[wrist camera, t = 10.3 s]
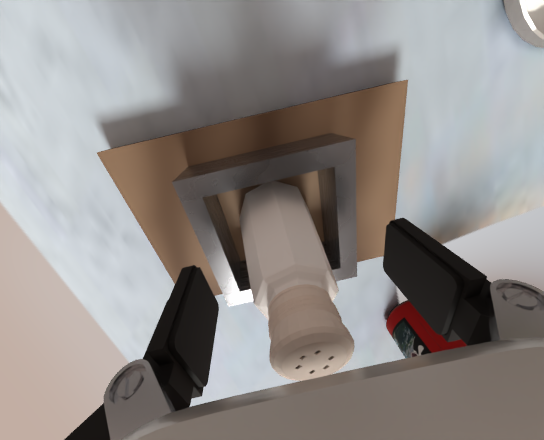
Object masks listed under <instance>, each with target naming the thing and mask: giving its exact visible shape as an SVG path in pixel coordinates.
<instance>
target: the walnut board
mask: <svg viewBox="0 0 544 440" xmlns="http://www.w3.org/2000/svg"><path fill="white" fill-rule="evenodd" d="M407 84H408V80H404V81H399V82H394V83H389V84H385V85H381V86H376V87H372V88H368V89H364V90H359V91H355V92H351V93H347V94H342V95H338V96H334V97H330V98H325V99H321V100H317V101H313V102H308V103H304V104H300V105H296V106H291V107H287V108H283V109H279V110H274V111H270V112H266V113H262V114H257V115H253V116H249V117H245V118H240V119H236V120H232V121H227V122H223V123H219V124H215V125H210V126H206V127H202V128H198V129H193V130H189V131H185V132H181V133H176V134H172V135H168V136H164V137H159V138H155V139H151V140H147V141H142V142H138V143H134V144H130V145H125V146H121V147H117V148H113V149H109V150H105V151H101V152H98V153H97V154H98V156H99V158H100V159H101V161H102V163H103V164H104V166H105V168H106V169H107V171H108V173H109V174H110V176H111V178H112V179H113V181H114V183H115V184H116V186H117V188H118V189H119V191H120V193H121V194H122V196H123V198H124V199H125V201H126V203H127V205H128V206H129V208H130V210H131V211H132V213H133V215H134V216H135V218H136V220H137V221H138V223H139V225H140V226H141V228H142V230H143V231H144V233H145V235H146V236H147V238H148V240H149V241H150V243H151V245H152V246H153V248H154V250H155V251H156V253H157V255H158V256H159V258H160V260H161V262H162V263H163V265H164V267H165V268H166V270H167V272H168V273H169V275H170V277H171V278H172V280H173V282H174V283H175V284H176V281H177V279H178V277H179V274H180V272H181V269H182V268H184V267H188V266H192V265H195V266H196V267H200V268H201V270H202V272H203V274H204V276H205V278H206V280H207V282H208V284H209V286H210V288H211V290H212V292H213V294H214V296H215V295H219V294H223V293H222V291H221V289H220V287H219V284H218V282H217V280H216V278H215V276H214V274H213V271H212V269H211V267H210V265H209V263H208V260H207V258H206V256H205V254H204V252H203V249H202V247H201V245H200V243H199V241H198V238H197V236H196V234H195V232H194V230H193V228H192V225H191V223H190V221H189V219H188V217H187V214H186V212H185V210H184V208H183V206H182V203H181V201H180V199H179V197H178V195H177V193H176V190H175V188H174V186H173V184H172V181H173V180H175V179H176V178H177V177H178V176H179V175H180V174H181V173H182V172H183V171H184V170H185V169H186V168H187V167H188V166H192V165H197V164H201V163H205V162H209V161H214V160H218V159H222V158H226V157H231V156H235V155H239V154H243V153H248V152H252V151H256V150H260V149H265V148H269V147H273V146H277V145H282V144H286V143H290V142H294V141H299V140H303V139H307V138H311V137H316V136H320V135H324V134H328V133H334V134H338V135H342V136H346V137H350V138H354V139H356V226H357V262H359V261H364V260H368V259H372V258H376V257H381V256H384V247H385V234H386V226H387V225H388V224H389V222H390V221H391V220H395V212H396V201H397V191H398V180H399V169H400V159H401V148H402V137H403V127H404V116H405V105H406V94H407ZM275 181H277V182H281V183H284V184H288V185H292V186H296V187H298V189H299V191H300V193H301V195H302V197H303V199H304V201H305V203H306V205H307V207H308V209H309V212H310V215H311V217H312V220H313V222H314V225H315V228H316V230H317V233H318V235H319V238H320V241H321V242H324V241H325V240H324V230H323V220H322V210H321V200H320V190H319V180H318V171H314V172H309V173H305V174H301V175H297V176H292V177H288V178H284V179H280V180H275ZM263 184H264V183H263ZM261 185H262V184H258V185H254V186H250V187H246V188H241V189H237V190H233V191H229V192H224V193H220V194H217V196H218V198H219V201H220V204H221V207H222V210H223V212H224V215H225V218H226V221H227V224H228V226H229V229H230V232H231V235H232V238H233V240H234V243H235V246H236V249H237V252H238V254H239V257H240V260H241V261H243V260H246V256H245V250H244V244H243V238H242V232H241V226H240V220H239V218H240V214H241V210H242V206H243V202H244V198H245V195H246V193H248V192H250V191H251V190H253V189H255V188H257V187H259V186H261Z"/></svg>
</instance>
